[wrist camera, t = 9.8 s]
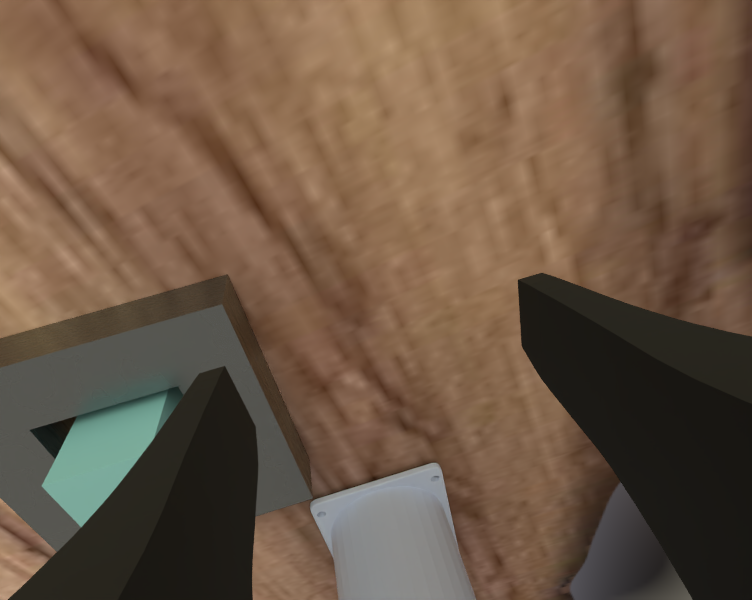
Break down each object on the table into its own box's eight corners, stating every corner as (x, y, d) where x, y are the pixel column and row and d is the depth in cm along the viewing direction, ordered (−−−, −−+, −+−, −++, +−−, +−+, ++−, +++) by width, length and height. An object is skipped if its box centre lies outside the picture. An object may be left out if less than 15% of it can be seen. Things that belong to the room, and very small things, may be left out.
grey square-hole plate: (309, 460, 26) (312, 498, 24) (94, 525, 25) (77, 571, 23) (227, 274, 19) (222, 304, 17) (-63, 356, 19) (-105, 397, 17)
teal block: (209, 428, 23) (195, 516, 19) (131, 452, 23) (99, 546, 19) (174, 369, 21) (149, 453, 17) (88, 394, 21) (41, 486, 17)
